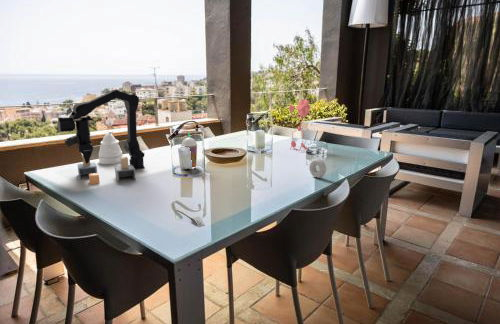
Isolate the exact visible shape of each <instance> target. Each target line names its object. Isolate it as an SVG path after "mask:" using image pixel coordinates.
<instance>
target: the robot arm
mask: <svg viewBox="0 0 500 324" xmlns="http://www.w3.org/2000/svg"><path fill="white" fill-rule="evenodd" d="M116 99H117V100H120V101H123V103H124V108H125V110H126V118H127V119H126V120H127V121H126V122H127V123H126V125H127V138H126V140H124V141H123V149H124V150H125V152H126V153H127V154H128V155H129V156H130V159H128V162H129V165H133V167H134V168H135V170H137V169H145V165H144V158H145V152H143V151H142V150H141V148H140V143H139V140H138V136H137V134H138V133H137V132H138V131H137V111H138V108H139V102H140V98H139V97H138V95H136V94H134V93H126V92H122V91H120V90H119V89H111V90H110V91H108V92H106V93H104V94H101V95H99V96H97V97H95V98H93V99H91V100H88V101H83V102H79V103H75V104H74V105H73V107H72V112H71V113H70V114H69V116H68V117H62V116H60V117H58V118H57V129H58V132H59V133H66V132H67V133H68V132H74V130H75V129H76V132H75V135H73V136H69V137H67V138H66V139H65V138H64V139H63V140H64V144H65V145H66V146H67V147H69V148H70V147H71V146H73V145H75V144H77V149H78V152H79V153H81V154H82V155H83V156H84V159H85V162H86V164H87V163H89V160H90V161H91V156H92V154H93V152H94V151H93V150H94V146H93V144H92V141H91V140H92V139H91V132H90V122H89V121H93V120H94V119H93V118H92V117H91V116H90V115H89V114H91V113H92V112H93V111H94V110H95V109H97V108H99V107H100V106H103V105H105V104H107V103H109V102H111V101H113V100H116Z"/></svg>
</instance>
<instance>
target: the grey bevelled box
mask: <svg viewBox="0 0 500 324" xmlns="http://www.w3.org/2000/svg"><path fill="white" fill-rule="evenodd" d="M120 160H121V162H120V165H119V166H114V173H115V179H116V181H117V182H120V178H125V177H132V178H133V180H137V178H136V177H137V175H136V169H135V168H134V167H133V165H130V164H129V157H127V156H122V157H120Z"/></svg>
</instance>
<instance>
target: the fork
mask: <svg viewBox="0 0 500 324" xmlns="http://www.w3.org/2000/svg"><path fill="white" fill-rule="evenodd" d="M175 210H176V211H178V212H180V213H182V214H184V215H185V216H187V217H188V218H190V219H193V220H194V221H195V223H196V224H197V226H198V227H199V228H202V227H203V228H204V227H205V226H206V225H205V223H204V221H203V220H202V218H201V217H200V215H195V216H194V215H193V216H192V215H190V214H189V213H188V212H187V211H185V209H184V208H183V207H177V208H175Z"/></svg>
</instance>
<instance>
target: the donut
mask: <svg viewBox="0 0 500 324" xmlns="http://www.w3.org/2000/svg"><path fill="white" fill-rule="evenodd" d="M308 167H309V172H310V175H311V176H312V177H314V178H316V177H317V178H316V179H321V178H323V177H324V176H325V174H326V173H327V166H326V164H325V162H324V161H323V160H322V159H321V158H316V157H315V158H313V159H312V160H311V161H310V163H309V165H308ZM317 167H318V169H319V170H317Z"/></svg>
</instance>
